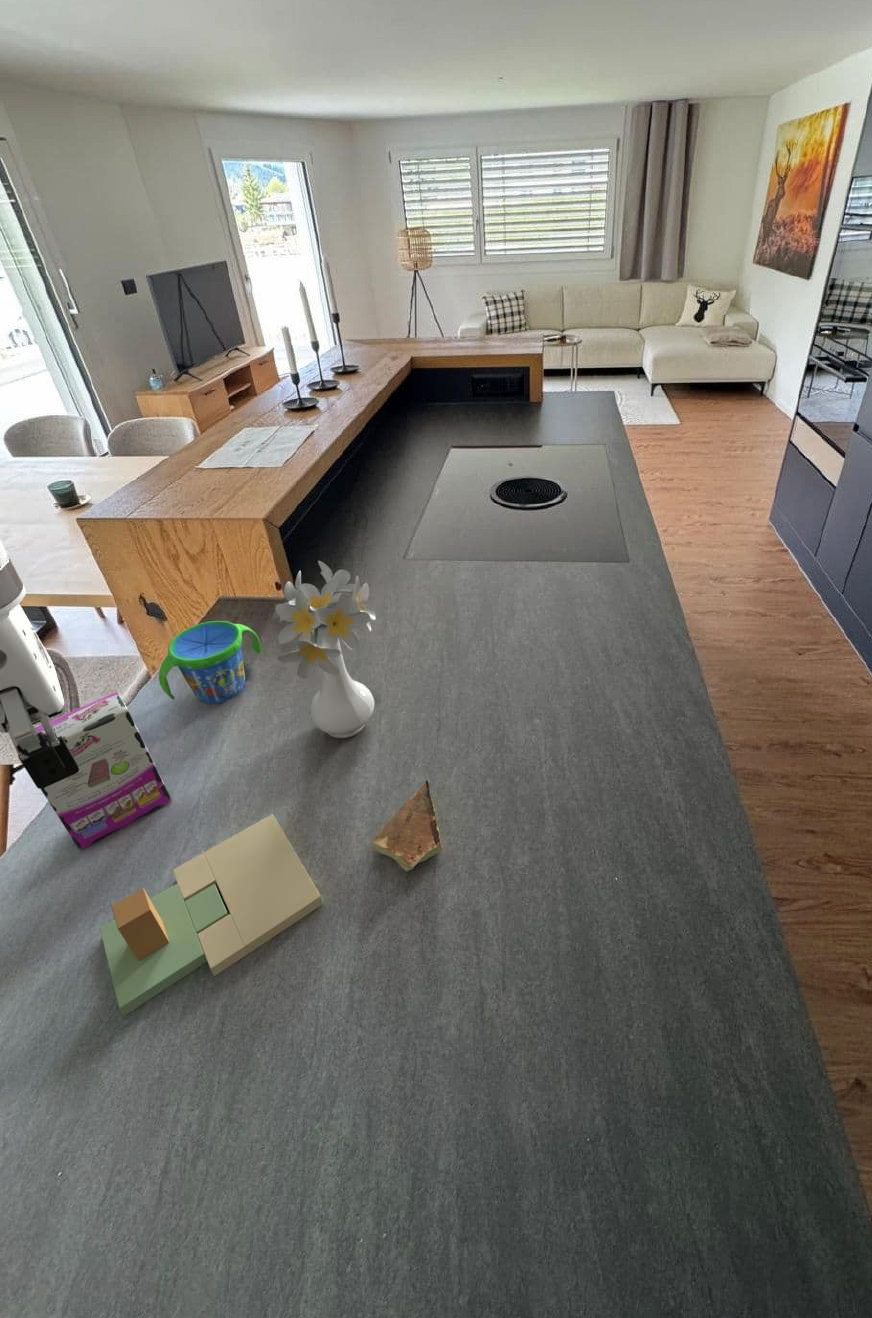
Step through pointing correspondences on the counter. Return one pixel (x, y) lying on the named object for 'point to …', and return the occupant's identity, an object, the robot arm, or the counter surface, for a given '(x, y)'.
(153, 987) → the green pad
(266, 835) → the cream pad
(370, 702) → the flower vase
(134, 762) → the candy bar box
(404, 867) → the shard
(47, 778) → the robot arm
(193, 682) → the snack cup
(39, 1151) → the counter surface
